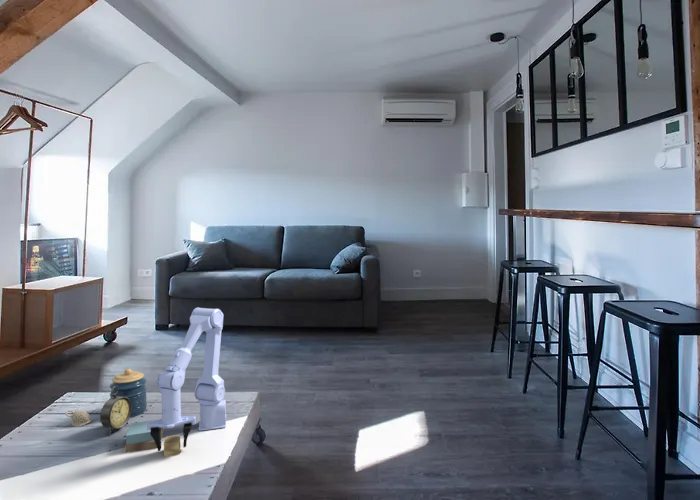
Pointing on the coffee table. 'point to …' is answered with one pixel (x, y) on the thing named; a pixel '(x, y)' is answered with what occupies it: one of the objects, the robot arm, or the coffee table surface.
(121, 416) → the alarm clock
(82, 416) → the decorative ornament
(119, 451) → the coffee table surface
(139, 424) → the tower top
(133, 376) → the canister
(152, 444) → the tower base
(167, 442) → the ochre cube
